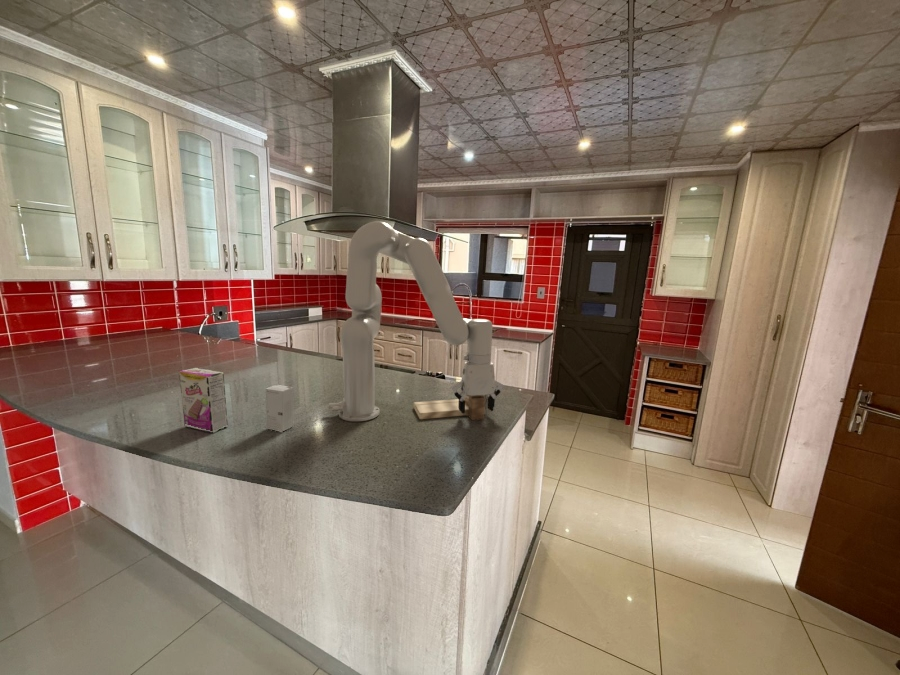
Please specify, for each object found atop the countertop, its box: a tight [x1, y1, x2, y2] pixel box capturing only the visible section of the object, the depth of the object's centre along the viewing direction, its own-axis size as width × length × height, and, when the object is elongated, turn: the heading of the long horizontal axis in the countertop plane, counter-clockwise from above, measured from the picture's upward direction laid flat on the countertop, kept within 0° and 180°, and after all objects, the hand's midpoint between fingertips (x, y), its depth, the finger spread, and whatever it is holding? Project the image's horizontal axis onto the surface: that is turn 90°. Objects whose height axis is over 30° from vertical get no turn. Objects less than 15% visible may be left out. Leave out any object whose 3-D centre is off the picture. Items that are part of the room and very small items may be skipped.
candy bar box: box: [178, 367, 229, 431], centre depth 96 cm, size 11×5×16 cm, turn 71°
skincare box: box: [265, 384, 294, 431], centre depth 97 cm, size 6×4×12 cm
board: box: [413, 398, 486, 420], centre depth 116 cm, size 22×10×2 cm, turn 107°
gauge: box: [464, 395, 486, 421], centre depth 114 cm, size 4×12×8 cm, turn 16°
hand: (476, 410), depth 111 cm, fingers open, 9 cm apart
